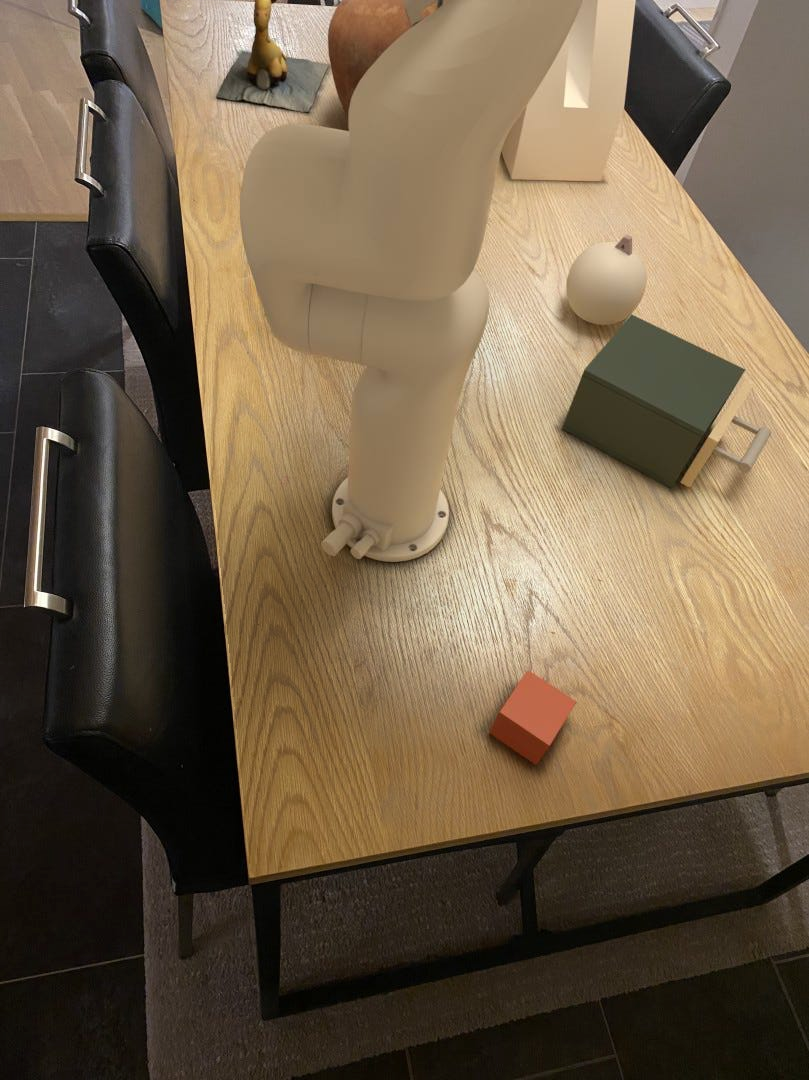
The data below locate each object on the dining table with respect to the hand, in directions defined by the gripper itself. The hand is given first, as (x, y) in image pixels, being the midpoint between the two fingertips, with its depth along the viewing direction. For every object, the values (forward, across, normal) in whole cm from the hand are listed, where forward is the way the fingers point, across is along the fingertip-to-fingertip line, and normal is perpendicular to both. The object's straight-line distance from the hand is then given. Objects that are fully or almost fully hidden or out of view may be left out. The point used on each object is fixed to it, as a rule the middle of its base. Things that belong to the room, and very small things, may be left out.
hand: (476, 92), depth 81 cm
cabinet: (+28, +19, -25) cm, 42 cm away
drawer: (+27, +22, -28) cm, 45 cm away
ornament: (+28, +21, -4) cm, 35 cm away
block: (+28, -6, -59) cm, 66 cm away
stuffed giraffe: (+28, -15, +63) cm, 71 cm away
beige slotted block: (+28, +28, +39) cm, 55 cm away
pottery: (+28, +3, +46) cm, 54 cm away
